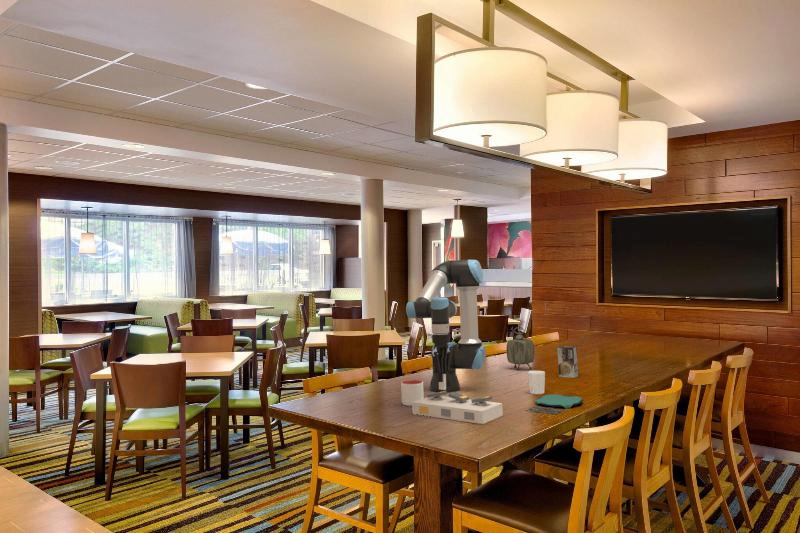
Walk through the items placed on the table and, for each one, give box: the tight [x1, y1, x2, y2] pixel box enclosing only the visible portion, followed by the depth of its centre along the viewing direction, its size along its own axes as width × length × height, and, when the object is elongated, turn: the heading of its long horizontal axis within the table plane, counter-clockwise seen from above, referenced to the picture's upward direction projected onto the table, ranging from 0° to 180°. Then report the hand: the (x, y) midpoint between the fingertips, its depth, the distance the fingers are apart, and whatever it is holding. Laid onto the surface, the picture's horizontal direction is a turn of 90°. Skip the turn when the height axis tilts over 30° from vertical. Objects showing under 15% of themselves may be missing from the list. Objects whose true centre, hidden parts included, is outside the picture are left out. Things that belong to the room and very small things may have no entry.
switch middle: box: [448, 391, 470, 402], centre depth 254 cm, size 7×5×1 cm
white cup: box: [527, 370, 546, 395], centre depth 289 cm, size 8×8×10 cm
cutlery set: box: [524, 394, 584, 416], centre depth 262 cm, size 20×30×2 cm, turn 141°
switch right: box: [471, 395, 493, 403], centre depth 247 cm, size 7×5×1 cm
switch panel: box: [411, 395, 504, 425], centre depth 252 cm, size 34×16×6 cm, turn 52°
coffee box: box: [556, 345, 579, 379], centre depth 329 cm, size 9×6×16 cm
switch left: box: [426, 391, 448, 398], centre depth 261 cm, size 7×5×1 cm
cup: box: [400, 379, 425, 407], centre depth 275 cm, size 10×10×10 cm
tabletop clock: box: [506, 326, 536, 371], centre depth 356 cm, size 14×9×25 cm, turn 46°
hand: (442, 389), depth 259 cm, fingers closed
